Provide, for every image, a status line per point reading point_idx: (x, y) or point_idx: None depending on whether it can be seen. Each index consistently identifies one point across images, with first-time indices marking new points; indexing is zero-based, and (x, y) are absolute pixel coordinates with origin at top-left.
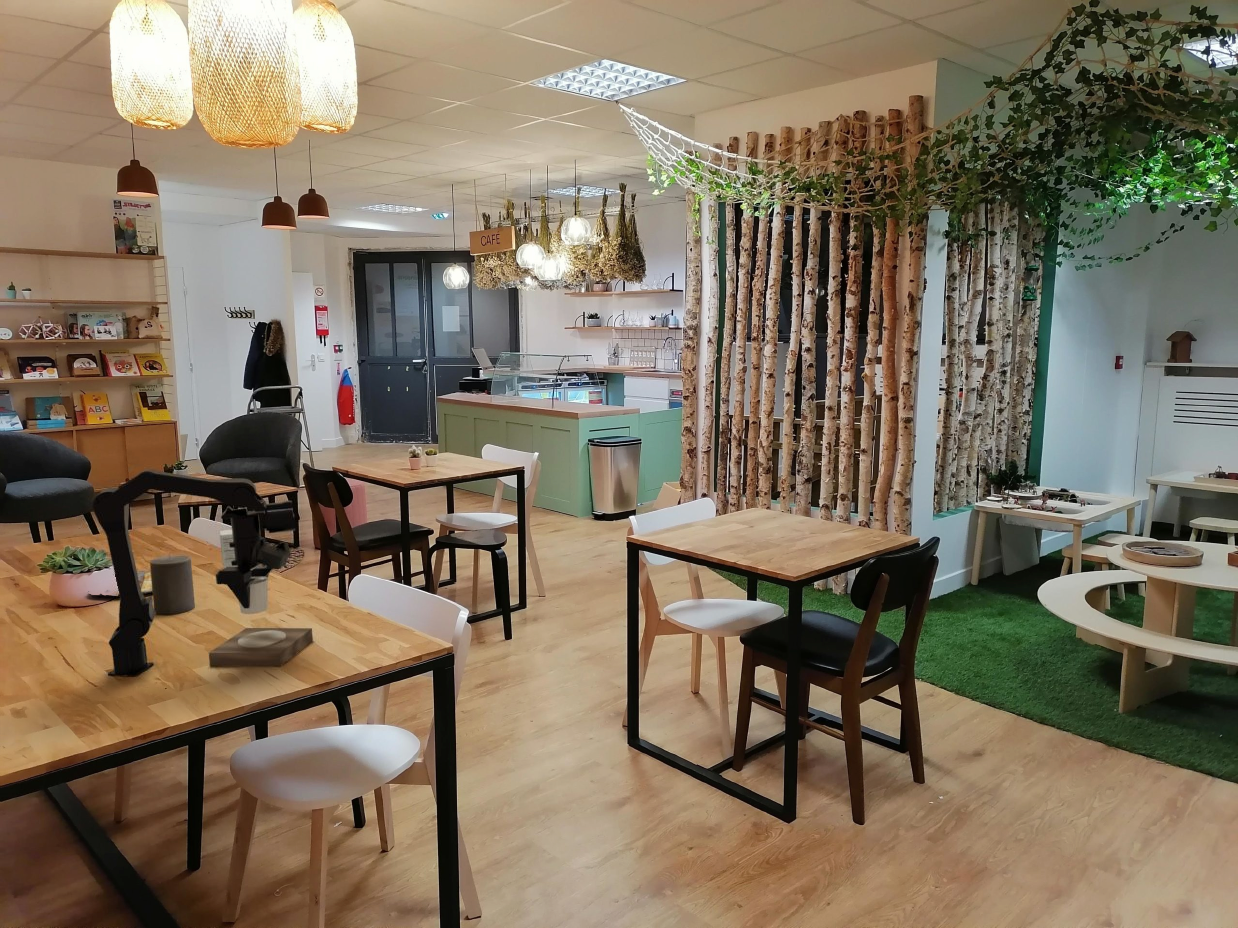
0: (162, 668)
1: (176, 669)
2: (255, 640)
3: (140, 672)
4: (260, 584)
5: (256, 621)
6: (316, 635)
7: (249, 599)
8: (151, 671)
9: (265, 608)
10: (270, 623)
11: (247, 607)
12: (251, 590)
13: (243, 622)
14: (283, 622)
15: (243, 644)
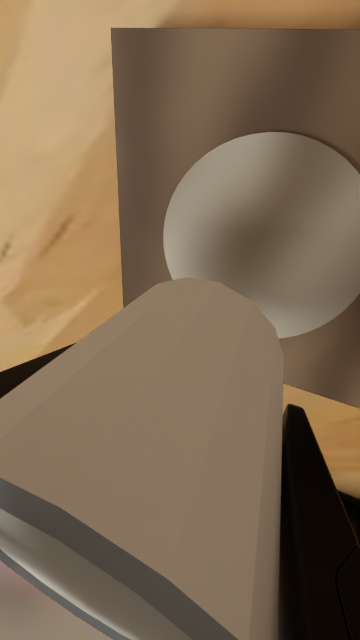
0: (330, 464)
1: (354, 443)
2: (287, 273)
3: (356, 500)
4: (183, 533)
5: (27, 313)
6: (88, 58)
7: (301, 461)
8: (346, 481)
9: (217, 289)
10: (29, 278)
11: (303, 416)
12: (273, 542)
13: (39, 338)
14: (14, 246)
15: (332, 312)
